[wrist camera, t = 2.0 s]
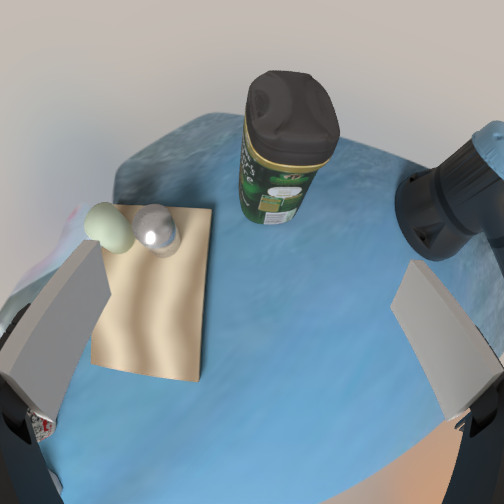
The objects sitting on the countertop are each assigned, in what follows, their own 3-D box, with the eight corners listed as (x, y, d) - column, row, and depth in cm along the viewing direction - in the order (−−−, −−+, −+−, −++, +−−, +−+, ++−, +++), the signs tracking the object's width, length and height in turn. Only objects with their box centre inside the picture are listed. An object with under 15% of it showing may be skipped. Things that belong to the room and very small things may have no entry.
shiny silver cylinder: (183, 224, 33) (175, 204, 27) (179, 259, 32) (169, 245, 26) (149, 222, 33) (136, 203, 27) (144, 256, 32) (128, 242, 26)
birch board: (212, 213, 35) (211, 209, 34) (199, 379, 30) (198, 382, 29) (114, 208, 34) (110, 204, 33) (95, 362, 29) (90, 363, 27)
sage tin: (138, 222, 33) (122, 202, 27) (132, 255, 31) (114, 241, 26) (108, 220, 32) (89, 201, 26) (102, 252, 31) (80, 238, 25)
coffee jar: (235, 165, 38) (244, 59, 20) (290, 164, 38) (329, 67, 20) (239, 229, 35) (253, 138, 17) (299, 226, 36) (359, 144, 18)
